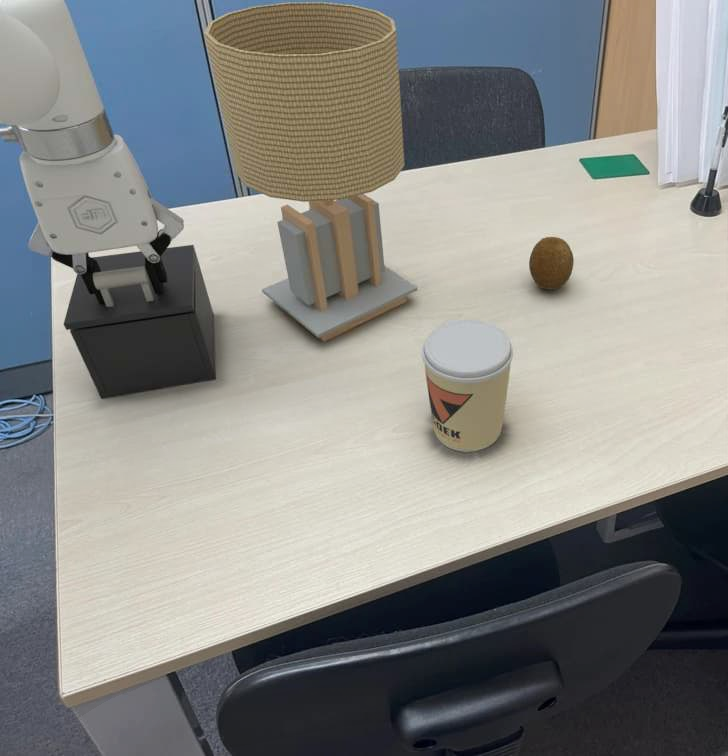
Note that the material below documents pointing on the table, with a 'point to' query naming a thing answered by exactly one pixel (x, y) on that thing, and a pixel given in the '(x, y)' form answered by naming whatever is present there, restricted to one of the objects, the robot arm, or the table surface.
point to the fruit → (551, 263)
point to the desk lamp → (317, 147)
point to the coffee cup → (467, 382)
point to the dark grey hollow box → (152, 349)
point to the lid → (133, 289)
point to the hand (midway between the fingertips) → (131, 290)
